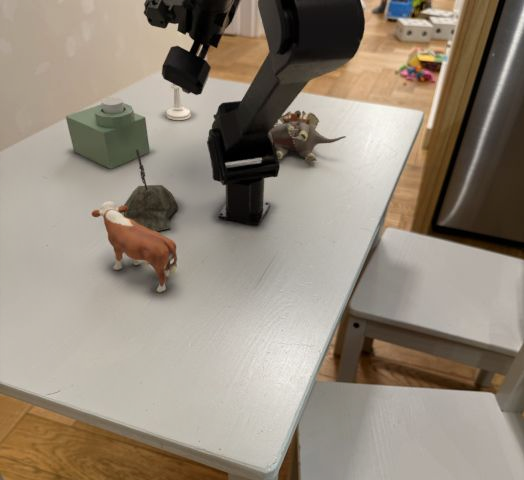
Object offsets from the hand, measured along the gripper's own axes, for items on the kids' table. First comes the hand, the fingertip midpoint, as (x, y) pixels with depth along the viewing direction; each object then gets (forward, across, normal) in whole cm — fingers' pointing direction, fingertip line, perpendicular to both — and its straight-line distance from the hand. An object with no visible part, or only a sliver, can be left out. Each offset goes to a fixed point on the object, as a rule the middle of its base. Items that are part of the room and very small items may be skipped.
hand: (195, 68), depth 82 cm
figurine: (+9, -1, +20) cm, 22 cm away
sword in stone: (-2, +27, +3) cm, 28 cm away
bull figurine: (-10, +38, +5) cm, 40 cm away
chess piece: (+21, -4, -2) cm, 22 cm away
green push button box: (+13, +14, -9) cm, 21 cm away
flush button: (+6, +10, -10) cm, 15 cm away
